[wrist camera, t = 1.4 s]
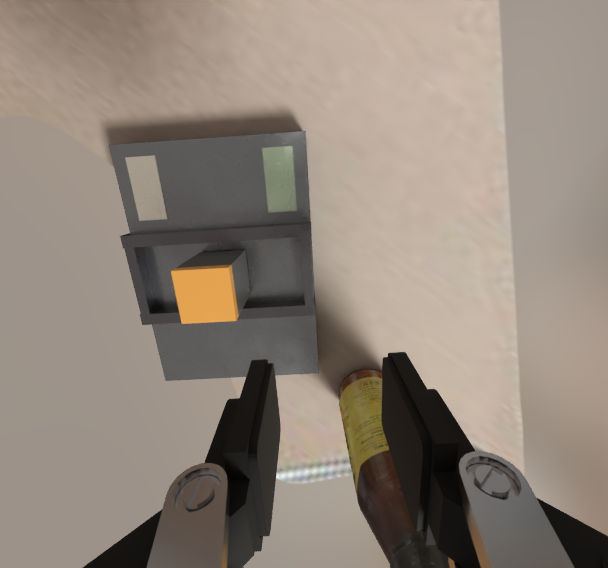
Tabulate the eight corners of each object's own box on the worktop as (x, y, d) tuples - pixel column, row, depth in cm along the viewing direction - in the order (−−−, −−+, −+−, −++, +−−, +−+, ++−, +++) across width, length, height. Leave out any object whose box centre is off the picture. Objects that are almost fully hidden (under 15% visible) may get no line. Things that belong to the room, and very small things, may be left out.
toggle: (199, 252, 27) (170, 271, 21) (245, 249, 26) (228, 267, 21) (207, 295, 28) (181, 324, 22) (250, 292, 28) (236, 321, 22)
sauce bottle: (325, 393, 34) (351, 659, 15) (364, 355, 32) (448, 598, 13) (368, 423, 35) (442, 705, 16) (408, 388, 33) (540, 654, 15)
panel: (123, 147, 26) (96, 142, 23) (305, 135, 26) (305, 127, 22) (173, 369, 33) (158, 390, 30) (318, 361, 32) (319, 382, 29)
